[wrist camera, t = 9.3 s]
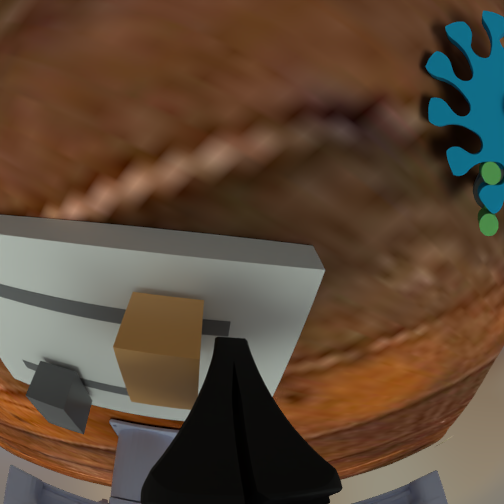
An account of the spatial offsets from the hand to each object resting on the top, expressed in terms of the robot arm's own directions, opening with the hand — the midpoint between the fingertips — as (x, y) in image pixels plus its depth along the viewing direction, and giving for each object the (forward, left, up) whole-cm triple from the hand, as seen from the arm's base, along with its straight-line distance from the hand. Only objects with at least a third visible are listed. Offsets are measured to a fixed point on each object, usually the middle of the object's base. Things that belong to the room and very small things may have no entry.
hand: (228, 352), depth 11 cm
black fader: (-7, +11, -1) cm, 13 cm away
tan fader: (0, +3, -1) cm, 3 cm away
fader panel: (-4, +7, -3) cm, 9 cm away
